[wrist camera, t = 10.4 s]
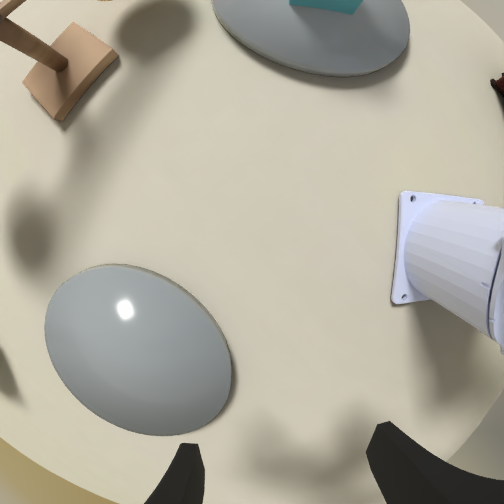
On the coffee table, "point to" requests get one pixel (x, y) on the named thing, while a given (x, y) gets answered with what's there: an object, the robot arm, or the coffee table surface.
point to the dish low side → (319, 34)
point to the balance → (57, 62)
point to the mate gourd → (498, 84)
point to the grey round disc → (138, 350)
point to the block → (330, 4)
